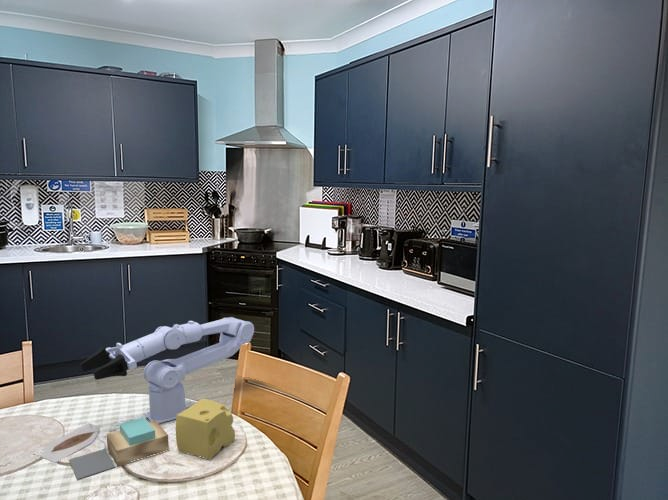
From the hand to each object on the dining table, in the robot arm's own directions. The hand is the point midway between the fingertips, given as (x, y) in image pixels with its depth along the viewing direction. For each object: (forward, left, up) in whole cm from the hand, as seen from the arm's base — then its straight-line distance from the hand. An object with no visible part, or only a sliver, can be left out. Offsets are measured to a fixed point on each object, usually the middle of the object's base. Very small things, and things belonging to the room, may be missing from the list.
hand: (87, 371), depth 120 cm
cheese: (-22, +19, -20) cm, 35 cm away
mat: (+2, +10, -19) cm, 22 cm away
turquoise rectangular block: (-8, +10, -15) cm, 20 cm away
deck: (-8, +10, -19) cm, 23 cm away
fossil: (+4, -4, -20) cm, 21 cm away
